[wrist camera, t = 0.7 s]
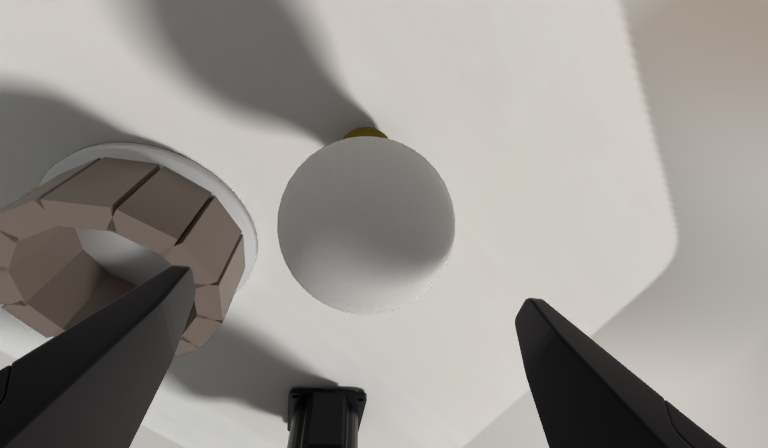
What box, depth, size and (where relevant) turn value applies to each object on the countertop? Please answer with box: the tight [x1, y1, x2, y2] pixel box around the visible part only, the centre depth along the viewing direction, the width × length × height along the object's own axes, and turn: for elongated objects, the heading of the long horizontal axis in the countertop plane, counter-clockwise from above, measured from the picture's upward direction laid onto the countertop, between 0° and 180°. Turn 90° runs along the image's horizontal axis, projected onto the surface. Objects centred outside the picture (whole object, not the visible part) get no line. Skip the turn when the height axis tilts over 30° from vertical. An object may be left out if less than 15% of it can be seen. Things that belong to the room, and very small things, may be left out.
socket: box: [0, 142, 258, 357], centre depth 18 cm, size 11×11×5 cm
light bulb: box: [278, 127, 455, 314], centre depth 14 cm, size 6×6×10 cm
